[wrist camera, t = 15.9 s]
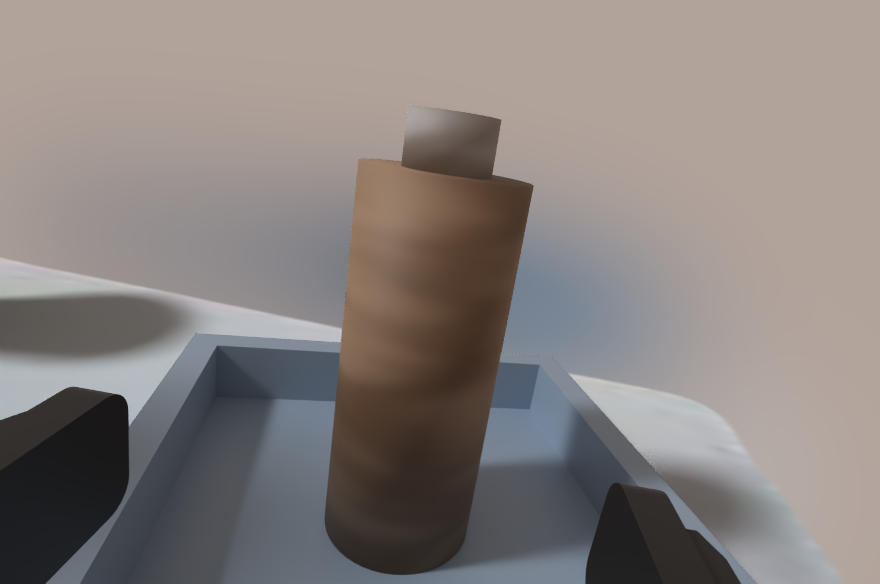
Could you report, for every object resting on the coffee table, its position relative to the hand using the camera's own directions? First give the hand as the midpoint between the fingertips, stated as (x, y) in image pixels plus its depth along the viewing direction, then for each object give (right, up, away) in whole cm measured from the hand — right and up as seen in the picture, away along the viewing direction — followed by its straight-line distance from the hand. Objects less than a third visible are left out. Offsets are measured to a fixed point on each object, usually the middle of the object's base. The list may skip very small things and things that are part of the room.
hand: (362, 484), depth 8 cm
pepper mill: (0, -5, +10) cm, 11 cm away
